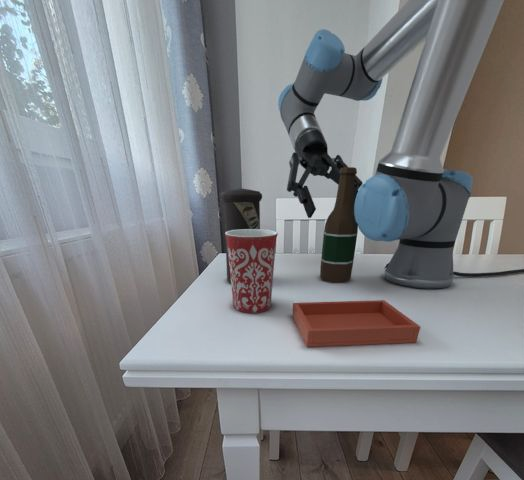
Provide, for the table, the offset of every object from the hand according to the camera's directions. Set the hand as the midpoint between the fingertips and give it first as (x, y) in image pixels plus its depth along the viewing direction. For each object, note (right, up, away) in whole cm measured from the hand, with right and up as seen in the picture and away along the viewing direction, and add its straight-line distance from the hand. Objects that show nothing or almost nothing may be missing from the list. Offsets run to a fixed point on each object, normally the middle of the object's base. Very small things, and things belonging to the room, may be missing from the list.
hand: (336, 213), depth 69 cm
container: (-22, -15, +4) cm, 27 cm away
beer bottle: (+1, -14, +6) cm, 15 cm away
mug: (-20, -23, -10) cm, 32 cm away
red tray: (-3, -29, -21) cm, 36 cm away
